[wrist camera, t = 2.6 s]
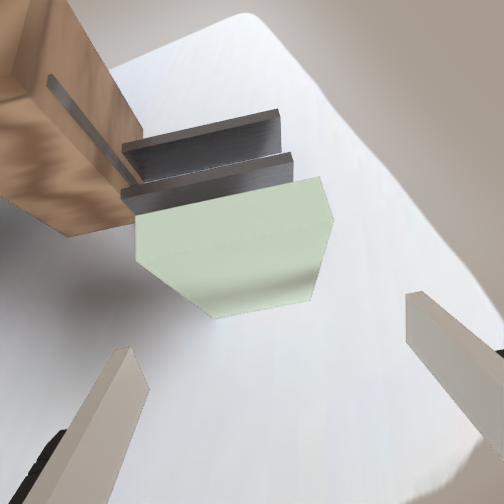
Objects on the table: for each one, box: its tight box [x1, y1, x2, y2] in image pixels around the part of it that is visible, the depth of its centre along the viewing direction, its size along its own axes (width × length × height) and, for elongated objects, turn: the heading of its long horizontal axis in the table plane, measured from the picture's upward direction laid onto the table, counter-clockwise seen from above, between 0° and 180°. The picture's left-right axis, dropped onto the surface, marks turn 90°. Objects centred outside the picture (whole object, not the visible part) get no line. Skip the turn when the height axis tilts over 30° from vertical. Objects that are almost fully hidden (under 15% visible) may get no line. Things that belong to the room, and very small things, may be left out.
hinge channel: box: [121, 109, 293, 216], centre depth 30 cm, size 16×7×5 cm, turn 100°
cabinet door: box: [135, 176, 334, 319], centre depth 20 cm, size 9×3×15 cm, turn 100°
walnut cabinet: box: [0, 0, 144, 237], centre depth 27 cm, size 10×15×17 cm, turn 10°
